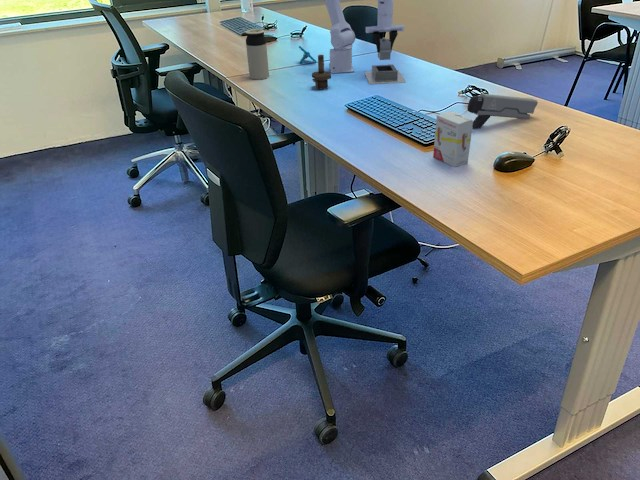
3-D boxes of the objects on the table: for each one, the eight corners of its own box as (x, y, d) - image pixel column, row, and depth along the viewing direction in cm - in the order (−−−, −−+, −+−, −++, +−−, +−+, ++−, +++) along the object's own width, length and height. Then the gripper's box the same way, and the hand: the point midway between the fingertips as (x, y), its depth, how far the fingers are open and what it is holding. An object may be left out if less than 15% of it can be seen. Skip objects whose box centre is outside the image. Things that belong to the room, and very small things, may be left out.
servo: (380, 61, 199) (381, 41, 195) (377, 55, 207) (377, 36, 203) (391, 60, 199) (391, 40, 195) (386, 54, 207) (387, 35, 203)
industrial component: (314, 91, 192) (313, 58, 186) (309, 86, 198) (307, 54, 192) (338, 88, 195) (337, 55, 188) (332, 83, 201) (331, 51, 194)
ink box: (431, 156, 139) (435, 114, 132) (445, 152, 141) (450, 110, 134) (454, 167, 132) (459, 123, 126) (468, 163, 134) (474, 119, 128)
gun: (459, 125, 154) (469, 92, 150) (522, 130, 164) (533, 98, 160) (464, 128, 152) (475, 94, 148) (527, 132, 163) (539, 100, 158)
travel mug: (273, 76, 212) (269, 30, 202) (258, 81, 207) (253, 33, 197) (260, 73, 217) (255, 28, 207) (245, 77, 212) (240, 31, 202)
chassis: (369, 84, 198) (369, 74, 196) (364, 73, 211) (364, 64, 209) (405, 82, 198) (406, 72, 196) (398, 71, 211) (398, 62, 209)
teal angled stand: (318, 61, 224) (301, 45, 220) (309, 72, 225) (292, 56, 222) (316, 59, 234) (299, 43, 230) (307, 69, 235) (291, 54, 232)
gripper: (367, 16, 191) (367, 54, 198) (406, 14, 191) (404, 52, 198) (365, 13, 197) (364, 50, 204) (402, 11, 197) (401, 48, 204)
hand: (384, 51), depth 201 cm, fingers closed on servo, 4 cm apart
